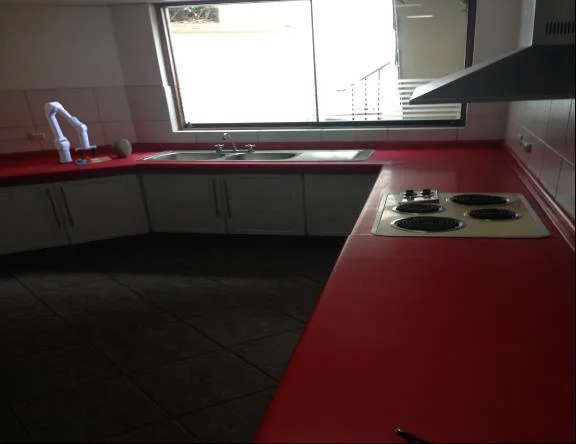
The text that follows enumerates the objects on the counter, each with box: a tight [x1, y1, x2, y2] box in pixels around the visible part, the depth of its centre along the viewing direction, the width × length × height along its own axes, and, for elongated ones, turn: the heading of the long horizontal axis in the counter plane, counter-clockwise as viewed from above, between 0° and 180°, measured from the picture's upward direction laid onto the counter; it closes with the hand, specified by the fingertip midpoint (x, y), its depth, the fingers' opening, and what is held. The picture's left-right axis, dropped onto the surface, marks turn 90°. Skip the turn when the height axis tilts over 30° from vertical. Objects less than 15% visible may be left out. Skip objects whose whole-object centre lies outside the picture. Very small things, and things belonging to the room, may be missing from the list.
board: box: [74, 156, 113, 166], centre depth 318 cm, size 16×24×1 cm, turn 123°
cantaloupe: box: [111, 138, 132, 159], centre depth 321 cm, size 14×14×15 cm
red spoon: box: [86, 156, 93, 164], centre depth 316 cm, size 11×4×3 cm, turn 33°
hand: (88, 158), depth 318 cm, fingers open, 7 cm apart
